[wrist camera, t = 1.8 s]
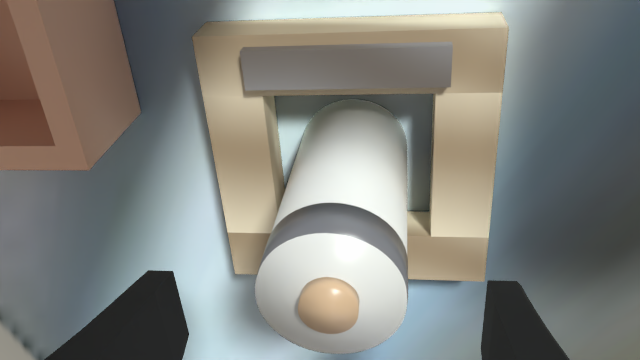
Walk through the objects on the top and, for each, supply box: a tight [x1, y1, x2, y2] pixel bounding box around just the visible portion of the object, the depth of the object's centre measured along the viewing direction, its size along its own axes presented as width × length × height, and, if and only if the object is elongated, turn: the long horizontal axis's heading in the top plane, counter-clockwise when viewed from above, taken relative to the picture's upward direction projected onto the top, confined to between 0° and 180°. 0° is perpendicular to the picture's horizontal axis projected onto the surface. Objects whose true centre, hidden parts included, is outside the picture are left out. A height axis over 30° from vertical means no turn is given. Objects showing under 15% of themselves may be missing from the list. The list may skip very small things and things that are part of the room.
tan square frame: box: [192, 12, 509, 281], centre depth 20 cm, size 9×9×2 cm
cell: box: [255, 99, 408, 354], centre depth 17 cm, size 4×4×8 cm
